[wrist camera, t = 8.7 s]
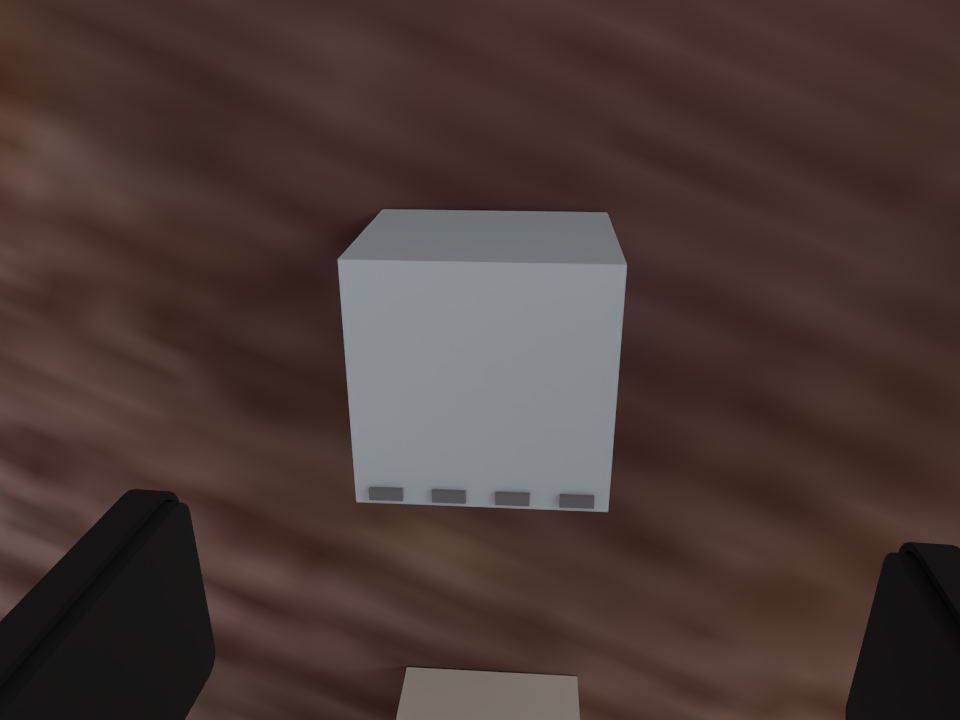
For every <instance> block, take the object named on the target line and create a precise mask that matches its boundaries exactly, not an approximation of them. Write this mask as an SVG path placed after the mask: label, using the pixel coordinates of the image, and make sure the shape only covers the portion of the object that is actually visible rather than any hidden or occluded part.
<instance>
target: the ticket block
mask: <svg viewBox="0 0 960 720" xmlns="http://www.w3.org/2000/svg"><path fill="white" fill-rule="evenodd" d="M396 720H580V716H579V699H578V682H577V676H562V675H544V674H525V673H507V672H488V671H470V670H451V669H433V668H414V667H407V669H406V674H405V678H404V683H403V688H402V693H401V698H400V702H399V707H398V712H397V717H396Z"/></svg>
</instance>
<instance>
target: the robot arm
mask: <svg viewBox="0 0 960 720" xmlns="http://www.w3.org/2000/svg"><path fill="white" fill-rule="evenodd" d="M214 660H215V644H214V639H213V633H212V628H211V623H210V617H209V612H208V607H207V601H206V596H205V590H204V585H203V580H202V574H201V569H200V563H199V558H198V553H197V547H196V542H195V537H194V531H193V526H192V520H191V515H190V511H189V508H188V506H187V505H186V504H184V503H179V500H178V497H177V496H176V495H175V493H172V492H169V491H155V490H140V489H133V490H129V491H128V492H126V493H125V494H124V495H123V496H122V497H121V498H120V499H119V500H118V501H117V502H116V503H115V504H114V505H113V506H112V507H111V508H110V509H109V510H108V511H107V512H106V513H105V514H104V515H103V516H102V517H101V518H100V520H99V521H98V522H97V523H96V524H95V525H94V526H93V527H92V528H91V529H90V530H89V531H88V532H87V533H86V534H85V535H84V536H83V537H82V538H81V539H80V540H79V541H78V542H77V543H76V544H75V545H74V546H73V547H72V548H71V549H70V550H69V551H68V552H67V553H66V555H65V556H64V557H63V558H62V559H61V560H60V561H59V562H58V563H57V564H56V565H55V566H54V567H53V568H52V569H51V570H50V571H49V572H48V573H47V574H46V575H45V576H44V577H43V578H42V579H41V580H40V581H39V582H38V583H37V584H36V585H35V586H34V587H33V588H32V589H31V591H30V592H29V593H28V594H27V595H26V596H25V597H24V598H23V599H22V600H21V601H20V602H19V603H18V604H17V605H16V606H15V607H14V608H13V609H12V610H11V611H10V612H9V613H8V614H7V615H6V616H5V617H4V618H3V619H2V620H1V621H0V720H185V718H186V716H187V715H188V713H189V711H190V709H191V708H192V706H193V704H194V702H195V701H196V699H197V697H198V695H199V694H200V692H201V690H202V688H203V687H204V685H205V683H206V681H207V679H208V678H209V676H210V674H211V671H212V668H213V665H214ZM846 720H960V548H959V547H957V546H954V545H944V544H929V543H914V542H907V543H904V544H903V545H902V546H901V548H900V550H899V552H898V553H888V554H887V556H886V557H885V559H884V562H883V566H882V570H881V574H880V577H879V581H878V585H877V589H876V593H875V597H874V601H873V604H872V608H871V612H870V616H869V620H868V624H867V628H866V631H865V635H864V639H863V643H862V647H861V651H860V655H859V658H858V662H857V666H856V670H855V674H854V678H853V682H852V685H851V689H850V693H849V697H848V701H847V705H846Z"/></svg>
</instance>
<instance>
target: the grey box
mask: <svg viewBox="0 0 960 720" xmlns="http://www.w3.org/2000/svg"><path fill="white" fill-rule="evenodd" d="M338 271H339V284H340V297H341V310H342V323H343V336H344V349H345V362H346V375H347V388H348V401H349V414H350V427H351V440H352V453H353V466H354V479H355V492H356V502H368V503H393V504H419V505H444V506H469V507H494V508H519V509H545V510H570V511H595V512H608V507H609V494H610V481H611V468H612V455H613V442H614V429H615V416H616V403H617V390H618V376H619V363H620V350H621V337H622V324H623V311H624V298H625V285H626V272H627V263H626V261H625V258H624V255H623V253H622V250H621V247H620V245H619V242H618V240H617V237H616V234H615V232H614V229H613V226H612V224H611V221H610V218H609V216H608V213H607V212H547V211H475V210H402V209H382V211H381V212H380V213H379V214H378V215H377V216H376V217H375V218H374V219H373V221H372V222H371V223H370V224H369V225H368V226H367V227H366V228H365V229H364V231H363V232H362V233H361V234H360V235H359V236H358V237H357V238H356V240H355V241H354V242H353V243H352V244H351V245H350V246H349V247H348V248H347V250H346V251H345V252H344V253H343V254H342V255H341V256H340V257H339V258H338Z"/></svg>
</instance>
